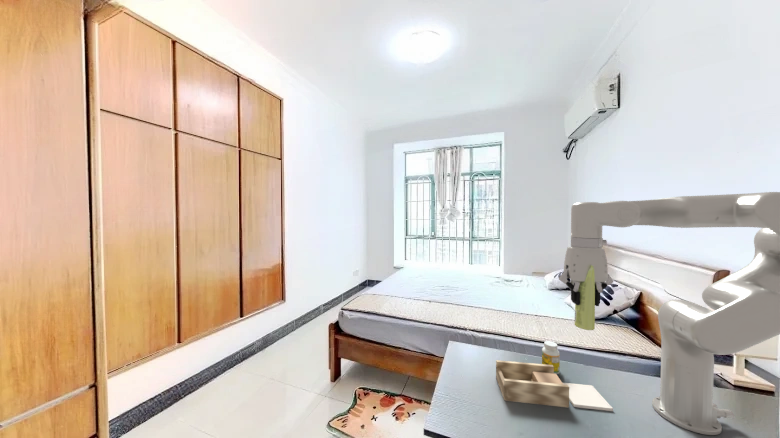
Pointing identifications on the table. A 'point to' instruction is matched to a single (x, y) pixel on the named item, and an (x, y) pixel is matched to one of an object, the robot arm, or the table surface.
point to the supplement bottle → (551, 356)
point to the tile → (587, 397)
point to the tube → (586, 303)
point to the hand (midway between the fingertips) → (585, 303)
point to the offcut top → (545, 377)
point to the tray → (529, 384)
